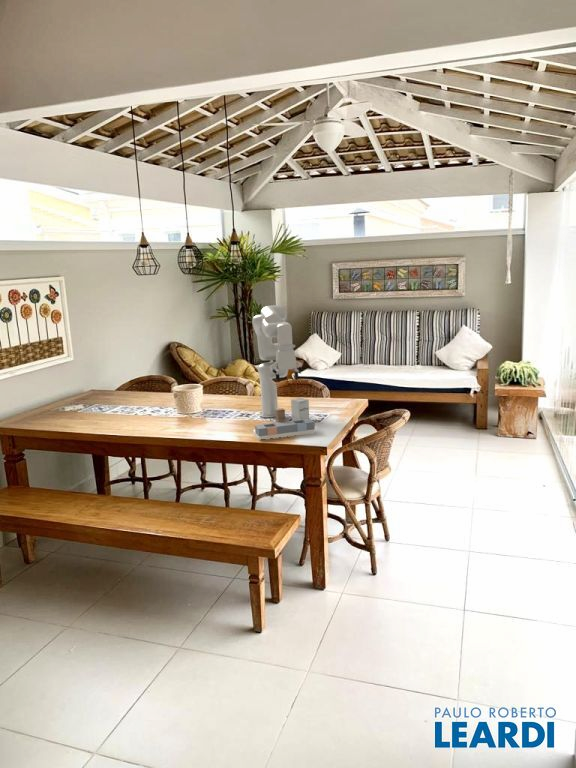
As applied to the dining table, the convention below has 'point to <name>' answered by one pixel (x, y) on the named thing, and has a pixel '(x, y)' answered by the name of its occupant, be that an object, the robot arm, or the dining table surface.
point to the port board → (284, 429)
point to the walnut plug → (280, 415)
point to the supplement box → (300, 409)
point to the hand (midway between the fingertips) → (287, 380)
